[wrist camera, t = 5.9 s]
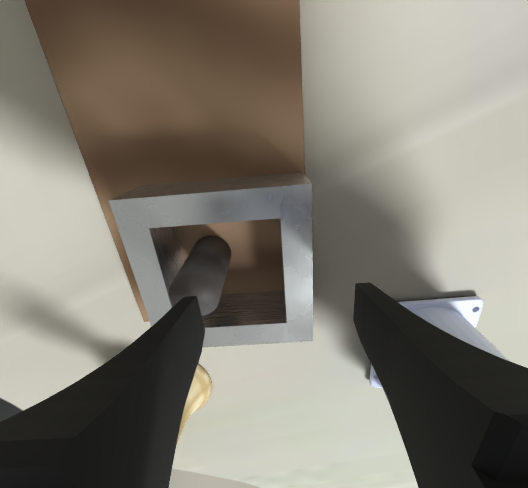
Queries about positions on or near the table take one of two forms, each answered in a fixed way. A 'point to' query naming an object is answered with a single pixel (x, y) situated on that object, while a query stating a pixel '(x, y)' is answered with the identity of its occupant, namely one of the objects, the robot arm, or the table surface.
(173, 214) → the grey square frame
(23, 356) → the table surface
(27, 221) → the table surface
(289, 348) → the table surface
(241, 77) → the brown board
